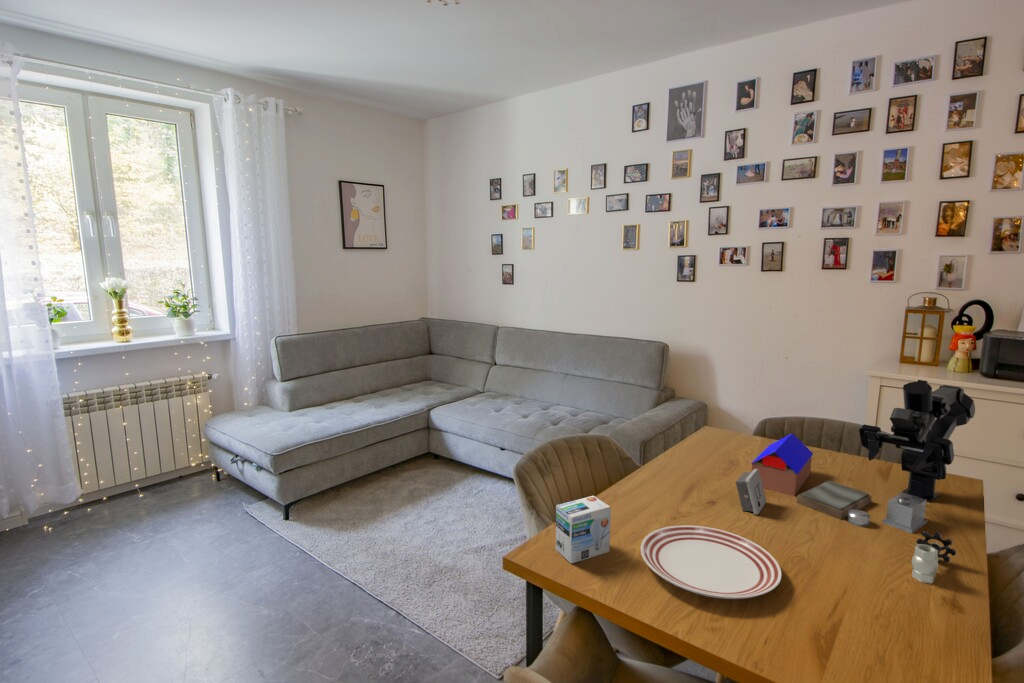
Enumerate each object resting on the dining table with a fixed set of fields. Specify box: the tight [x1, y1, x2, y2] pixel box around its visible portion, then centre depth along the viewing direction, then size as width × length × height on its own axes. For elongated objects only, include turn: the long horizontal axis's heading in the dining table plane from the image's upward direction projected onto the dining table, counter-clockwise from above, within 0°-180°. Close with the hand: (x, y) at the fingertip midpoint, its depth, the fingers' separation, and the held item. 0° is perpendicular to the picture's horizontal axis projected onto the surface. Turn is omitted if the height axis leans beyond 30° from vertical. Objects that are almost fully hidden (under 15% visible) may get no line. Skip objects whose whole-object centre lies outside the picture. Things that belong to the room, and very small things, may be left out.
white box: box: [555, 495, 612, 564], centre depth 116 cm, size 11×7×11 cm, turn 117°
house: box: [750, 433, 814, 497], centre depth 152 cm, size 12×20×12 cm, turn 139°
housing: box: [882, 491, 928, 534], centre depth 127 cm, size 9×6×7 cm, turn 123°
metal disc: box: [847, 509, 871, 528], centre depth 128 cm, size 4×4×2 cm
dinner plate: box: [640, 524, 782, 600], centre depth 109 cm, size 27×27×3 cm
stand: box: [796, 480, 872, 520], centre depth 138 cm, size 16×11×2 cm
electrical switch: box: [735, 469, 767, 516], centre depth 136 cm, size 9×5×9 cm, turn 141°
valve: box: [911, 531, 957, 585], centre depth 107 cm, size 7×7×12 cm
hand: (891, 463), depth 125 cm, fingers open, 9 cm apart
